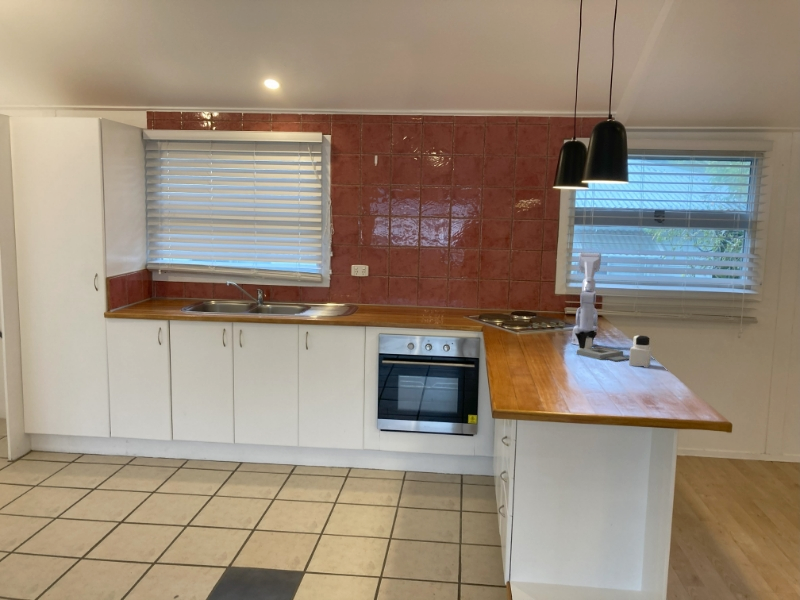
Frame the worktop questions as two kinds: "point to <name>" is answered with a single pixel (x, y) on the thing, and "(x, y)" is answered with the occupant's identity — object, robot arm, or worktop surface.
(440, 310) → the worktop surface
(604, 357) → the plate
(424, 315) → the worktop surface
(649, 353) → the medicine bottle
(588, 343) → the charger
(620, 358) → the phone
